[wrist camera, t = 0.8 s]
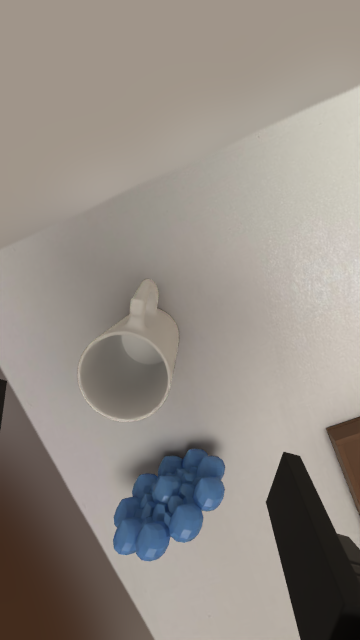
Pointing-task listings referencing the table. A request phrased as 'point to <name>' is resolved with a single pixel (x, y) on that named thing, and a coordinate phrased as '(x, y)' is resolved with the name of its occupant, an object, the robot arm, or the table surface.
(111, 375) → the mug
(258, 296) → the table surface
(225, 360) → the table surface
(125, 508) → the blue sphere cluster
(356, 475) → the tray
